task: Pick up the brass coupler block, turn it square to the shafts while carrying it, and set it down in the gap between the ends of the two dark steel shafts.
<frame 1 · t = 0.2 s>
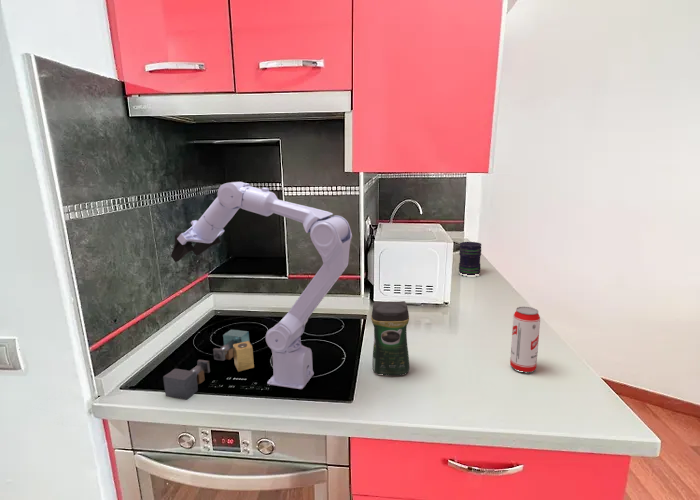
hand: (184, 255, 103), 31 cm above the worktop, tool tilted 45°, fingers open, 7 cm apart
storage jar: (469, 275, 190), on the worktop
beer can: (522, 369, 103), on the worktop
coupler: (244, 366, 108), on the worktop
shaft bench: (212, 368, 107), on the worktop
coffee jar: (390, 370, 104), on the worktop
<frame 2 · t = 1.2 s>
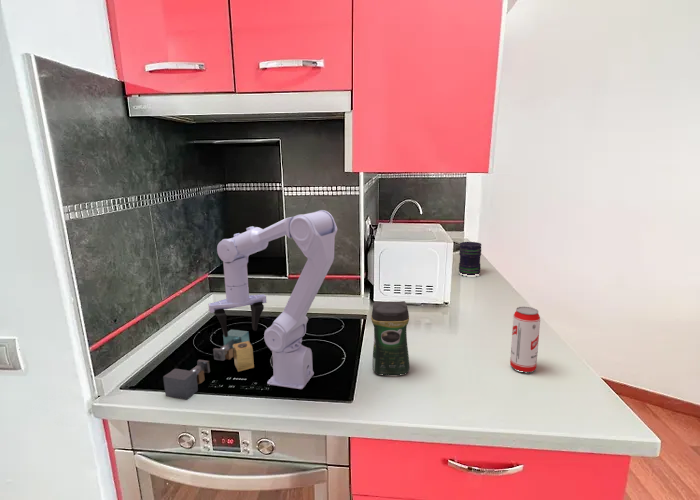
hand: (240, 332, 106), 10 cm above the worktop, tool pointing down, fingers open, 7 cm apart
nothing on the worktop moved.
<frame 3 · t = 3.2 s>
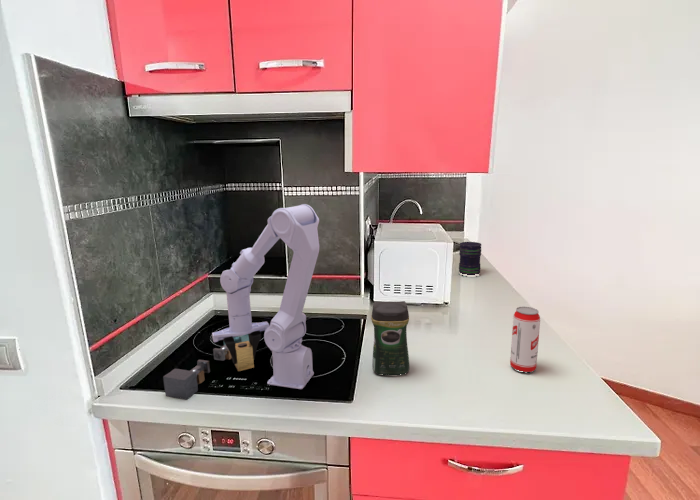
hand: (243, 360, 108), 2 cm above the worktop, tool pointing down, fingers closed on coupler, 4 cm apart
coupler: (244, 365, 108), on the worktop, touching gripper
everything else where it was.
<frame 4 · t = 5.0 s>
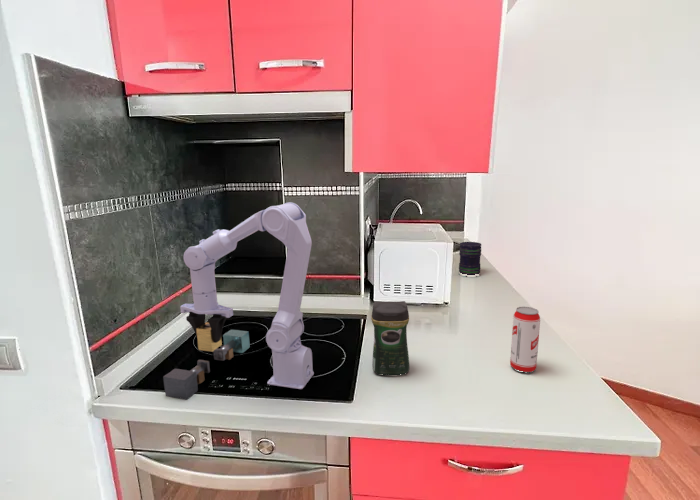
hand: (209, 340, 105), 8 cm above the worktop, tool pointing down, fingers closed on coupler, 4 cm apart
coupler: (210, 347, 105), point 6 cm above the worktop, touching gripper
everything else where it was.
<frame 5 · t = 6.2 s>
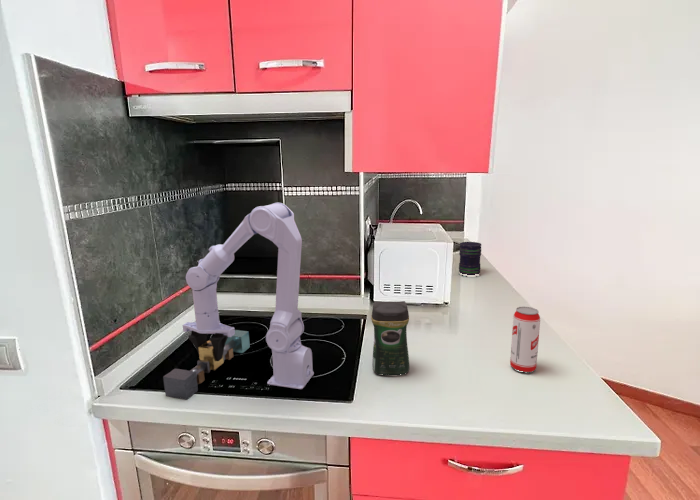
hand: (211, 358, 106), 3 cm above the worktop, tool pointing down, fingers closed on coupler, 4 cm apart
coupler: (212, 365, 107), point 1 cm above the worktop, touching gripper
everything else where it was.
when the fingers open (3 cm above the worktop, at t = 7.0 s): coupler drops 1 cm, on the worktop.
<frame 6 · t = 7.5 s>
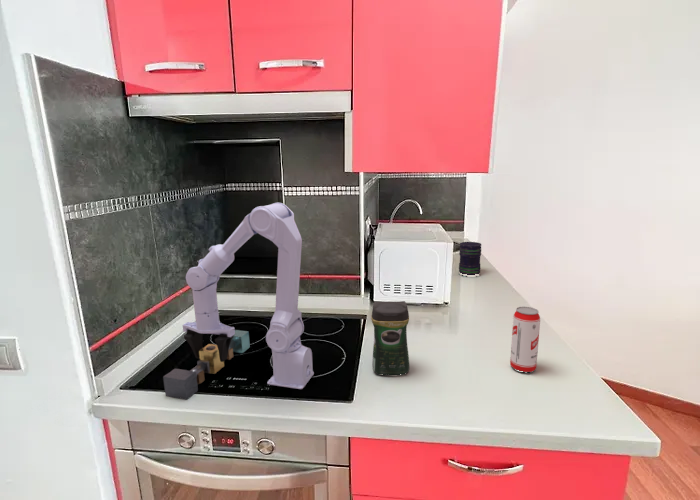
hand: (211, 358, 106), 3 cm above the worktop, tool pointing down, fingers open, 7 cm apart
coupler: (212, 368, 107), on the worktop
everything else where it was.
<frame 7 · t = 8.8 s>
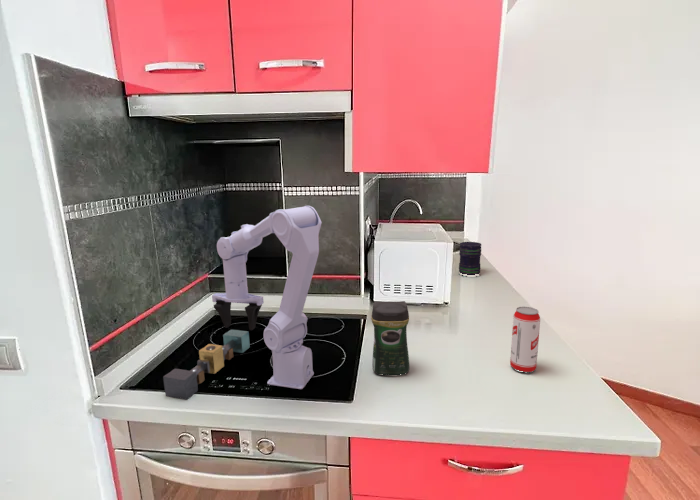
hand: (240, 327, 110), 9 cm above the worktop, tool pointing down, fingers open, 7 cm apart
nothing on the worktop moved.
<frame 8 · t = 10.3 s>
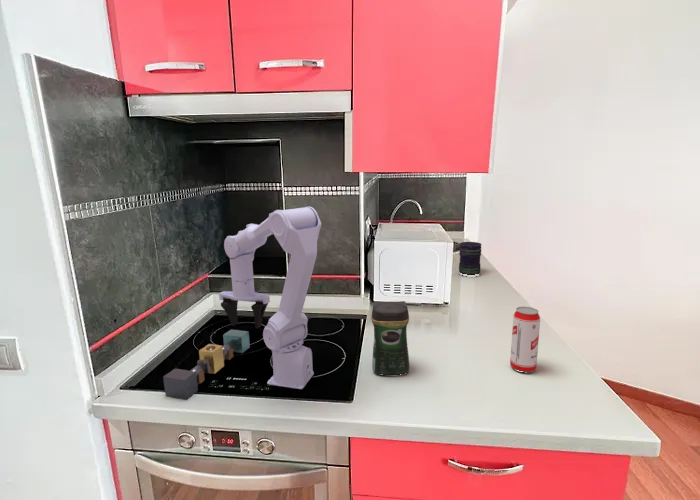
hand: (246, 325, 111), 9 cm above the worktop, tool pointing down, fingers open, 7 cm apart
at the end: coupler 0.1 cm off-centre on the shaft bench, point 0.0 cm above the shaft bench's base; coupler tilted 0°; the gripper is holding nothing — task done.
